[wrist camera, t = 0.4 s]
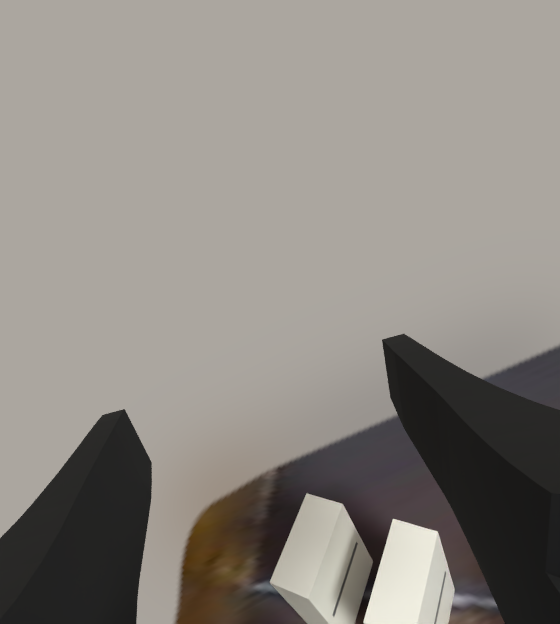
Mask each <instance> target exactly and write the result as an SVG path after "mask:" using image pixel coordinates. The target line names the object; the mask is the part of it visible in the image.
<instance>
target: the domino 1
mask: <svg viewBox="0 0 560 624" xmlns="http://www.w3.org/2000/svg"><path fill="white" fill-rule="evenodd" d="M372 564H373V560H372V558H371V557H370V555H369V553H368V551H367V549H366V547H365V545H364V543H363V541H362V539H361V538H360V536H359V534H358V532H357V530H356V528H355V526H354V524H353V522H352V520H351V519H350V517H349V515H348V513H347V511H346V509H345V507H344V505H343V504H341V503H338V502H334V501H331V500H328V499H324V498H321V497H317V496H314V495H311V494H306V496H305V498H304V501H303V503H302V506H301V508H300V510H299V513H298V515H297V518H296V520H295V522H294V525H293V527H292V530H291V532H290V534H289V537H288V539H287V542H286V544H285V547H284V549H283V551H282V554H281V556H280V559H279V561H278V563H277V566H276V568H275V571H274V573H273V575H272V578H271V580H270V584H271V585H272V586H273V587H274V588H275V589H276V590H277V591H278V592H279V593H280V594H281V596H282V597H283V598H284V599H285V600H286V601H287V602H288V603H289V604H290V605H291V606H292V607H293V609H294V610H295V611H296V612H297V613H298V614H299V615H300V616H301V617H302V618H303V619H304V620H305V622H306V623H307V624H355V621H356V617H357V614H358V611H359V607H360V604H361V601H362V597H363V594H364V591H365V587H366V584H367V580H368V577H369V574H370V570H371V567H372Z"/></svg>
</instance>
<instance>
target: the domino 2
mask: <svg viewBox="0 0 560 624" xmlns="http://www.w3.org/2000/svg"><path fill="white" fill-rule="evenodd" d="M454 591H455V589H454V586H453V582H452V579H451V576H450V572H449V569H448V565H447V562H446V558H445V555H444V551H443V548H442V544H441V541H440V538H439V534H438V532H437V531H433V530H430V529H426V528H423V527H420V526H416V525H413V524H409V523H406V522H403V521H399V520H396V519H393V521H392V524H391V528H390V531H389V535H388V538H387V542H386V545H385V549H384V552H383V556H382V559H381V562H380V566H379V569H378V573H377V576H376V580H375V583H374V587H373V590H372V594H371V597H370V601H369V604H368V608H367V611H366V615H365V618H364V622H363V623H364V624H448V623H449V618H450V612H451V607H452V602H453V597H454Z"/></svg>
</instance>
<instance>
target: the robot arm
mask: <svg viewBox="0 0 560 624" xmlns="http://www.w3.org/2000/svg"><path fill="white" fill-rule="evenodd" d="M382 342H383V349H384V356H385V363H386V370H387V376H388V383H389V390H390V397H391V400H392V402H393V404H394V407H395V409H396V411H397V413H398V416H399V418H400V420H401V422H402V424H403V427H404V429H405V430H406V432H407V434H408V436H409V437H410V439H411V441H412V442H413V444H414V446H415V447H416V449H417V451H418V452H419V454H420V455H421V457H422V459H423V460H424V462H425V464H426V465H427V467H428V469H429V470H430V472H431V474H432V475H433V477H434V478H435V480H436V482H437V483H438V485H439V487H440V488H441V490H442V492H443V493H444V495H445V497H446V499H447V500H448V502H449V504H450V506H451V508H452V509H453V511H454V513H455V516H456V518H457V520H458V522H459V524H460V526H461V528H462V530H463V532H464V534H465V536H466V538H467V541H468V543H469V545H470V547H471V549H472V551H473V553H474V556H475V558H476V560H477V562H478V564H479V566H480V569H481V571H482V573H483V575H484V577H485V579H486V582H487V584H488V586H489V588H490V591H491V593H492V595H493V597H494V600H495V602H496V604H497V606H498V609H499V611H500V613H501V615H502V618H503V620H504V622H505V624H560V410H558V409H554V408H551V407H548V406H545V405H542V404H539V403H536V402H534V401H531V400H528V399H526V398H523V397H521V396H518V395H516V394H513V393H511V392H508V391H506V390H504V389H501V388H499V387H497V386H495V385H492V384H490V383H488V382H486V381H484V380H482V379H480V378H478V377H476V376H474V375H472V374H470V373H468V372H466V371H465V370H463V369H461V368H459V367H457V366H456V365H454V364H452V363H450V362H449V361H447V360H445V359H443V358H442V357H440V356H439V355H437V354H435V353H434V352H432V351H430V350H429V349H427V348H426V347H424V346H423V345H421V344H419V343H418V342H416V341H415V340H413V339H411V338H410V337H408V336H407V335H405V334H402V335H398V336H394V337H390V338H387V339H383V340H382ZM151 469H152V468H151V461H150V459H149V456H148V455H147V453H146V451H145V449H144V447H143V445H142V443H141V441H140V439H139V437H138V435H137V433H136V431H135V429H134V427H133V425H132V423H131V421H130V419H129V417H128V415H127V413H126V411H125V410H124V409H123V410H120V411H116V412H112V413H109V414H105V415H102V417H101V418H100V419H99V420H98V421H97V423H96V424H95V425H94V426H93V428H92V429H91V431H90V432H89V433H88V434H87V436H86V437H85V438H84V440H83V441H82V442H81V444H80V445H79V447H78V448H77V449H76V450H75V452H74V453H73V454H72V455H71V457H70V458H69V459H68V461H67V462H66V463H65V465H64V466H63V467H62V469H61V470H60V471H59V473H58V474H57V475H56V476H55V477H54V479H53V480H52V481H51V482H50V483H49V485H48V486H47V487H46V488H45V489H44V491H43V492H42V493H41V494H40V495H39V497H38V498H37V499H36V500H35V501H34V503H33V504H32V505H31V506H30V507H29V508H28V509H27V511H26V512H25V513H24V514H23V515H22V516H21V517H20V519H18V521H17V522H16V523H15V524H14V525H13V526H12V527H11V528H10V529H9V530H8V531H7V532H6V533H5V534H4V535H3V536H2V537H1V538H0V624H136V616H137V596H138V587H139V578H140V571H141V564H142V558H143V551H144V544H145V538H146V531H147V524H148V517H149V510H150V503H151V485H152V478H151V476H152V475H151V473H152V472H151Z"/></svg>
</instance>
